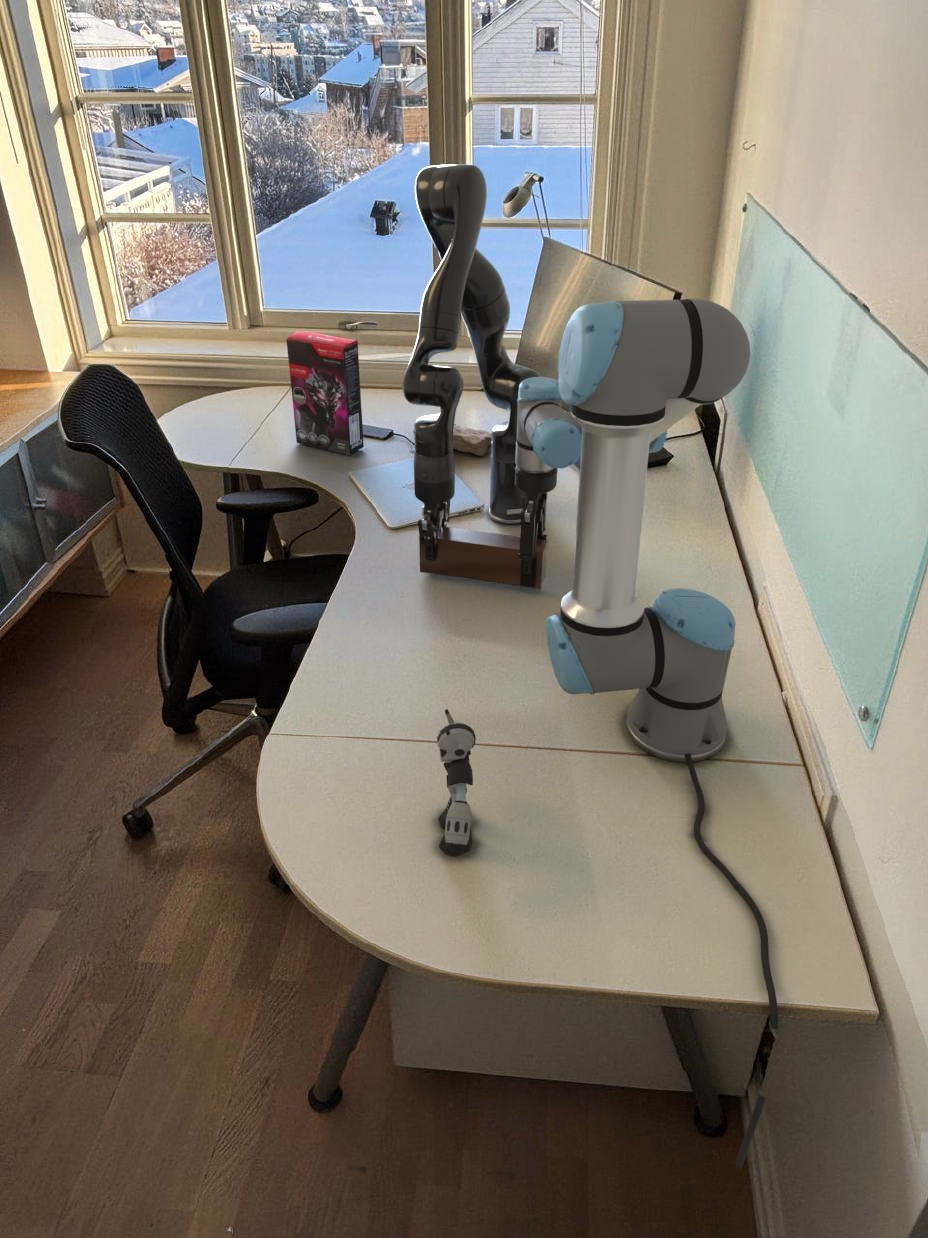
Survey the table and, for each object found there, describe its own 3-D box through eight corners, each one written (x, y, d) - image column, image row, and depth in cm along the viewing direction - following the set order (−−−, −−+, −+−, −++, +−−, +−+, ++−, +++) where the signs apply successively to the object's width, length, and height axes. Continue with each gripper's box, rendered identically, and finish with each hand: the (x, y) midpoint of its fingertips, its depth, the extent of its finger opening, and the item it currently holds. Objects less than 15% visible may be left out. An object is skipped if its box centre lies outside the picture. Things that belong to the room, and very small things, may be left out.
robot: (478, 890, 117) (481, 774, 106) (439, 891, 117) (438, 775, 106) (469, 781, 133) (471, 671, 122) (436, 782, 133) (434, 671, 122)
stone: (397, 439, 228) (402, 416, 226) (416, 430, 242) (421, 408, 239) (477, 464, 225) (483, 440, 222) (491, 454, 238) (497, 431, 236)
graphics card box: (294, 443, 234) (283, 336, 218) (310, 434, 239) (300, 328, 224) (350, 457, 227) (343, 347, 212) (366, 447, 232) (360, 339, 217)
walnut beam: (540, 589, 175) (542, 552, 170) (419, 572, 180) (418, 536, 175) (545, 576, 179) (548, 540, 174) (427, 559, 184) (426, 524, 179)
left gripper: (443, 491, 163) (443, 573, 173) (464, 459, 175) (463, 538, 184) (402, 486, 165) (405, 568, 174) (426, 454, 176) (427, 533, 186)
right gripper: (547, 489, 156) (540, 605, 169) (566, 448, 170) (558, 558, 183) (504, 484, 157) (500, 599, 170) (526, 444, 172) (521, 553, 185)
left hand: (435, 552), depth 179 cm, fingers closed on walnut beam, 5 cm apart
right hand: (530, 577), depth 177 cm, fingers closed on walnut beam, 5 cm apart
